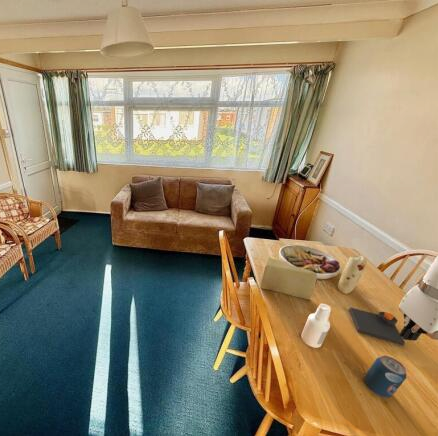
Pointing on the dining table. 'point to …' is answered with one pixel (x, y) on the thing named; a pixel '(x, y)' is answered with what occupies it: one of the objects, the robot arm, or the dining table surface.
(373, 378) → the soda can
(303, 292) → the cheese
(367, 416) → the dining table surface
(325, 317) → the white bottle
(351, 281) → the food model
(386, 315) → the tare button
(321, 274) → the bowl
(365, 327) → the scale
